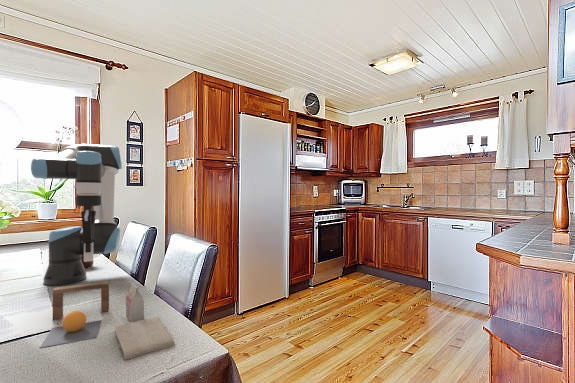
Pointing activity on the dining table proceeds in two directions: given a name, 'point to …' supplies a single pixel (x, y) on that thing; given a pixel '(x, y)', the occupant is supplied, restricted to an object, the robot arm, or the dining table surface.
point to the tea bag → (134, 305)
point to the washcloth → (142, 337)
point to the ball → (74, 321)
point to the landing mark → (71, 334)
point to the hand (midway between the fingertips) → (88, 260)
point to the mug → (86, 264)
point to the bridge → (60, 290)
